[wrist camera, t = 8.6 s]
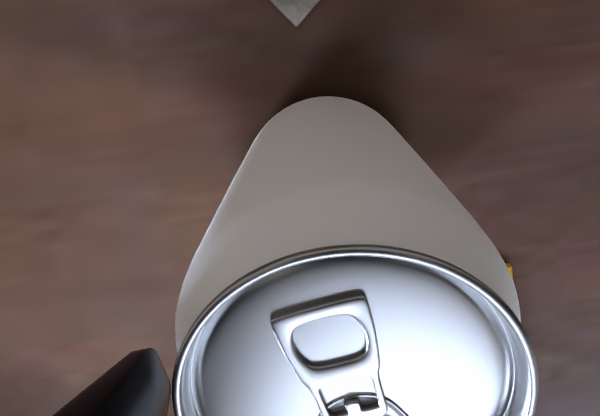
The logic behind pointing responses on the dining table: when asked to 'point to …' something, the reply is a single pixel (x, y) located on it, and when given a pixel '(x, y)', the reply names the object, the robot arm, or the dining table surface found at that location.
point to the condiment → (295, 9)
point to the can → (347, 285)
